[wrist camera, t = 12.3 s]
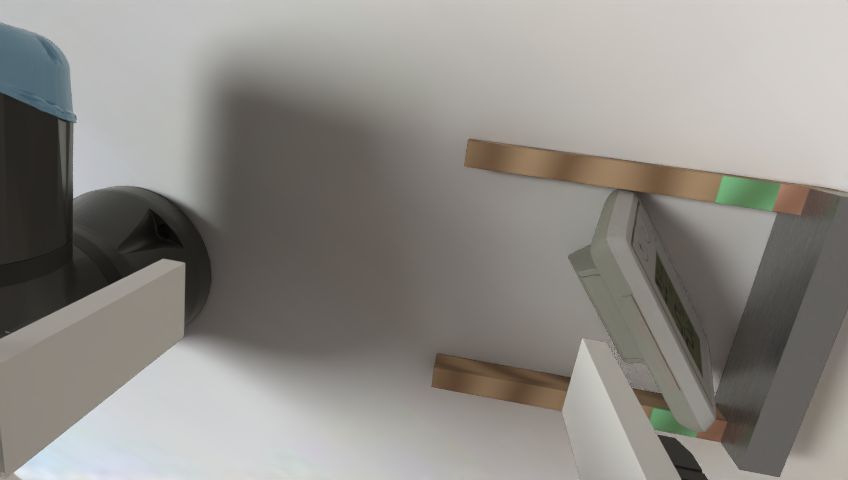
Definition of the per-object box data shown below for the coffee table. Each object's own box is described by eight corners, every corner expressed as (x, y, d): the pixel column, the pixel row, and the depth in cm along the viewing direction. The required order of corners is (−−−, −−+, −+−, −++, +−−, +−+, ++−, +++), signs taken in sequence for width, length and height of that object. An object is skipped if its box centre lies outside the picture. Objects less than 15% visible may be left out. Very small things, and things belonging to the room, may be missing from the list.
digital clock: (704, 349, 42) (773, 426, 32) (599, 371, 44) (632, 451, 34) (665, 171, 39) (728, 194, 29) (553, 204, 41) (575, 236, 30)
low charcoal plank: (706, 422, 44) (739, 469, 38) (787, 182, 38) (841, 196, 32) (741, 428, 44) (779, 477, 38) (828, 188, 37) (890, 203, 32)
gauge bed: (434, 372, 46) (431, 388, 43) (469, 138, 40) (467, 140, 37) (741, 428, 44) (757, 448, 41) (828, 187, 37) (854, 193, 35)
